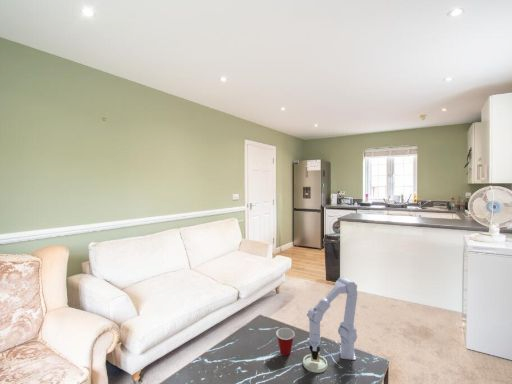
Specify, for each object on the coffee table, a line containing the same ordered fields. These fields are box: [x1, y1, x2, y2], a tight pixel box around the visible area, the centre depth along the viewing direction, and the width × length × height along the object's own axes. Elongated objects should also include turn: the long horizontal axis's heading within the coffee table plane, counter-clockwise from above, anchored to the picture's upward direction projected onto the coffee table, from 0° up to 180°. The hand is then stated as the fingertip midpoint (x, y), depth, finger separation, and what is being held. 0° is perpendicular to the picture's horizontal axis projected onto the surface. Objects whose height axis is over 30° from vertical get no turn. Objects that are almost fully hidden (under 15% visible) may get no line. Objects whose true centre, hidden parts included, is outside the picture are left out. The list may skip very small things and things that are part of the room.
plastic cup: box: [275, 327, 296, 356], centre depth 159 cm, size 11×11×12 cm
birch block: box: [310, 350, 321, 362], centre depth 148 cm, size 4×4×4 cm
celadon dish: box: [302, 353, 328, 374], centre depth 149 cm, size 13×13×2 cm
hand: (315, 356), depth 148 cm, fingers closed on birch block, 4 cm apart
